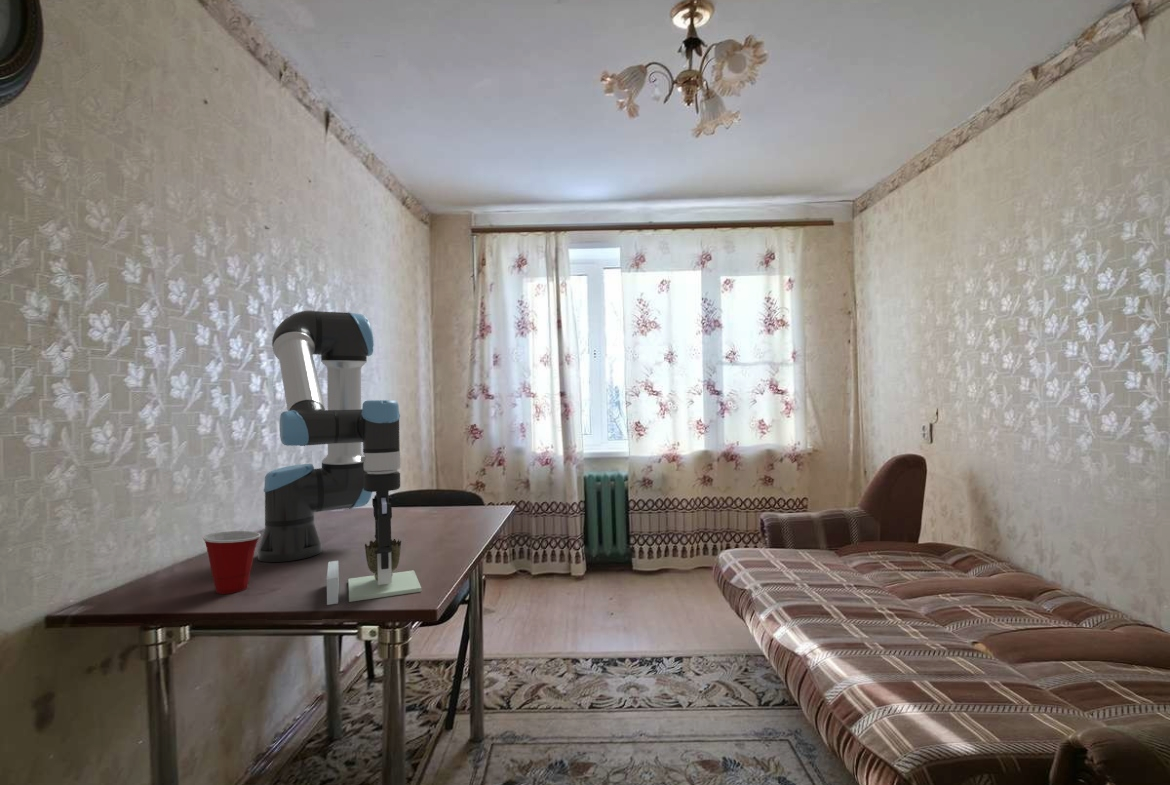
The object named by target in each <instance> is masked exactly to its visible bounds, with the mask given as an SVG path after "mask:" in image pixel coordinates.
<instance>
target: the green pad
mask: <svg viewBox="0 0 1170 785" xmlns="http://www.w3.org/2000/svg"><path fill="white" fill-rule="evenodd" d="M392 574H393V576H392V583H389V584H381V585H378V581H377V580H376V579H375V577H374V576H375V574H374V575H367V576H359V577H351V578H348V580H347V581H348V602H349V603H350V602H351V603H352V602H356V601H357V602H358V601H364V600H371V599H372V600H373V599H379V598H386V597H392V596H399V595H407V594H414V593H421V592H422V586H421V584H420V582H419V579H418V576H417V574H416V572H415V570H406V571H399V572H392Z"/></svg>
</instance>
